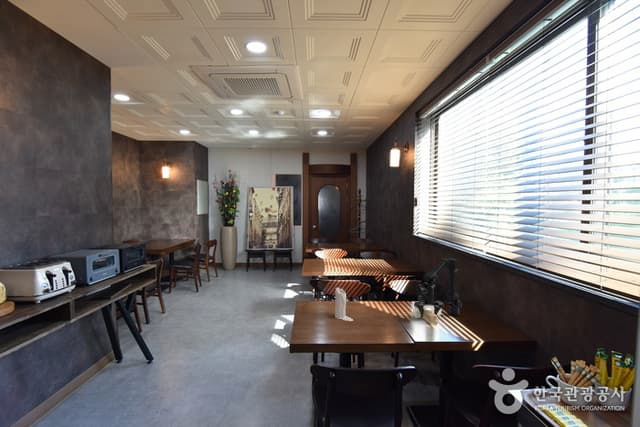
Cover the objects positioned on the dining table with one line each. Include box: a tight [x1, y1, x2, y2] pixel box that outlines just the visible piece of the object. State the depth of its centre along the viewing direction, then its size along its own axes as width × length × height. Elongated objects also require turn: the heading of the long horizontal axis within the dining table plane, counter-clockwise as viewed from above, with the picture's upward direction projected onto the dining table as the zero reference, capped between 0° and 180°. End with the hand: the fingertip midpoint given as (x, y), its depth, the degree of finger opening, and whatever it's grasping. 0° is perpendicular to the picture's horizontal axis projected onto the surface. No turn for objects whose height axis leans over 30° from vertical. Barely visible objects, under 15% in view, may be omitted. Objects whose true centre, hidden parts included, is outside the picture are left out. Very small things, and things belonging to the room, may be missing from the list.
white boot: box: [334, 287, 354, 322], centre depth 214 cm, size 7×14×20 cm, turn 53°
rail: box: [420, 308, 439, 326], centre depth 214 cm, size 4×16×6 cm, turn 10°
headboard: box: [413, 305, 442, 319], centre depth 222 cm, size 21×6×9 cm, turn 100°
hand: (428, 317), depth 213 cm, fingers open, 9 cm apart
